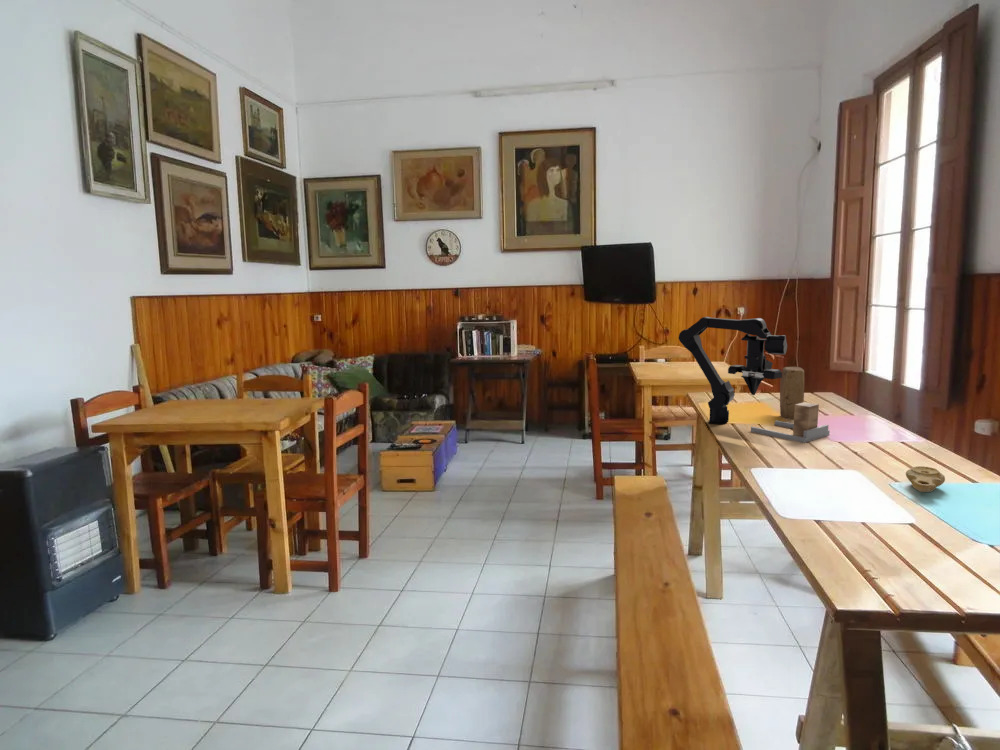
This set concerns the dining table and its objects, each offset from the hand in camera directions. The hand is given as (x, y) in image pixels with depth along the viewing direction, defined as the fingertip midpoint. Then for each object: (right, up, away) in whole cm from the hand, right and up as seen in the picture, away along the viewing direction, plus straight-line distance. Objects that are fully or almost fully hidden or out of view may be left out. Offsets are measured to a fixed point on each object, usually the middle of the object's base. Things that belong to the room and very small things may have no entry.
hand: (753, 394), depth 232 cm
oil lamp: (+18, -23, -67) cm, 73 cm away
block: (+20, -10, +14) cm, 27 cm away
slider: (+10, -13, -19) cm, 25 cm away
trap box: (+7, -14, -14) cm, 21 cm away
